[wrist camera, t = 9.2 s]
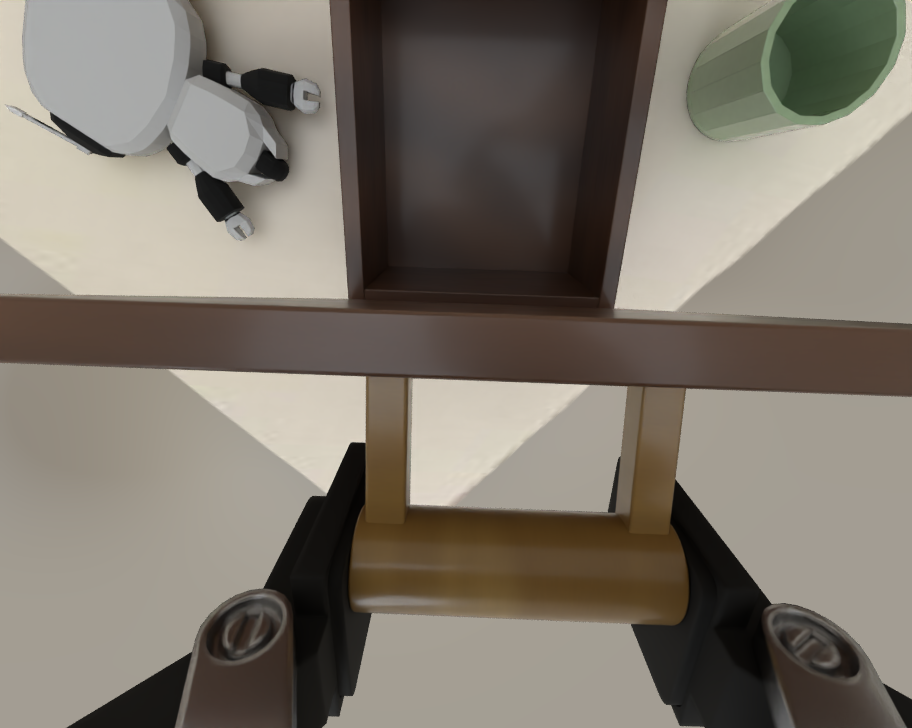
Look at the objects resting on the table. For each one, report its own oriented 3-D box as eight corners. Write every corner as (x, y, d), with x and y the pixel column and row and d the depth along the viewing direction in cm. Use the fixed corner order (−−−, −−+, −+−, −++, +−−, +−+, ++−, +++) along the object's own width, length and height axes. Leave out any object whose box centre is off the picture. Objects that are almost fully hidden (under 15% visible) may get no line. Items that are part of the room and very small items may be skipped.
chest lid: (-85, 293, 5) (-24, 699, 6) (1210, 339, 5) (1090, 748, 6) (346, 298, 23) (346, 395, 24) (617, 308, 23) (608, 404, 24)
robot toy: (343, 94, 28) (112, -89, 24) (327, 81, 24) (46, -142, 20) (260, 247, 32) (50, 110, 28) (235, 257, 28) (-17, 100, 24)
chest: (367, -24, 25) (321, -128, 17) (615, -16, 25) (688, -118, 17) (378, 275, 32) (348, 304, 24) (575, 282, 32) (613, 313, 24)
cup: (805, 25, 26) (930, -37, 19) (772, 143, 28) (873, 126, 21) (699, 22, 26) (786, -42, 19) (676, 140, 28) (744, 122, 21)
